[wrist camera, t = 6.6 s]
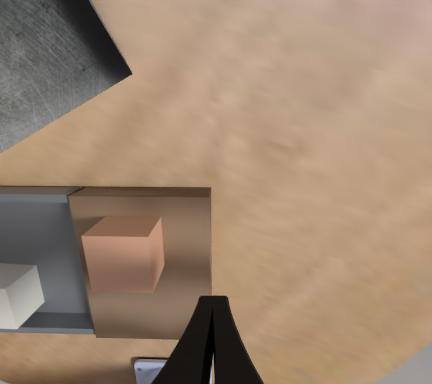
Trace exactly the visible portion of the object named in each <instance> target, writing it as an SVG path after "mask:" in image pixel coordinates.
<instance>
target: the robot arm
mask: <svg viewBox="0 0 432 384" xmlns="http://www.w3.org/2000/svg"><path fill="white" fill-rule="evenodd" d="M213 353H214V374H215V384H264V383H263V381H262V379H261V378H260V376H259V374H258V372H257V370H256V369H255V367H254V365H253V363H252V361H251V359H250V357H249V355H248V353H247V351H246V349H245V347H244V344H243V342H242V340H241V338H240V335H239V333H238V330H237V328H236V325H235V322H234V319H233V316H232V313H231V310H230V306H229V301H228V297H227V296H203V295H201V296H200V297H199V299H198V303H197V305H196V308H195V310H194V313H193V315H192V317H191V319H190V321H189V323H188V325H187V327H186V329H185V331H184V333H183V335H182V337H181V338H180V340H179V342H178V344H177V345H176V347H175V349H174V350H173V352H172V354H171V355H170V357H169V358H168V360H158V359H137V360H136V361H135V364H134V368H135V375H136V382H137V384H212V359H213Z"/></svg>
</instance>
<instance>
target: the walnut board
mask: <svg viewBox="0 0 432 384" xmlns="http://www.w3.org/2000/svg"><path fill="white" fill-rule="evenodd" d="M68 199H69V204H70V209H71V214H72V219H73V224H74V229H75V234H76V239H77V244H78V249H79V254H80V259H81V264H82V269H83V274H84V279H85V284H86V289H87V294H88V299H89V304H90V309H91V314H92V319H93V325H94V330H95V335H96V338H135V339H176V340H180V338H181V337H182V335H183V333H184V331H185V329H186V327H187V325H188V323H189V321H190V319H191V317H192V315H193V313H194V310H195V308H196V305H197V303H198V299H199V297H200V296H201V295H203V296H212V294H211V188H185V187H86V188H84V189H82V190H80V191H78V192H76V193H74V194H71V195H69V196H68ZM106 216H129V217H161V225H162V238H163V252H164V267H163V270H162V272H161V275H160V277H159V280H158V282H157V285H156V287H155V290H154V292H153V293H138V292H92V290H91V284H90V279H89V274H88V269H87V263H86V258H85V253H84V248H83V243H82V237H81V236H82V235H83V234H84V233H86V232H87V231H88V230H89V229H91V228H92V227H93V226H94V225H96V224H97V223H98V222H99V221H101V220H102V219H103V218H104V217H106Z"/></svg>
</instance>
